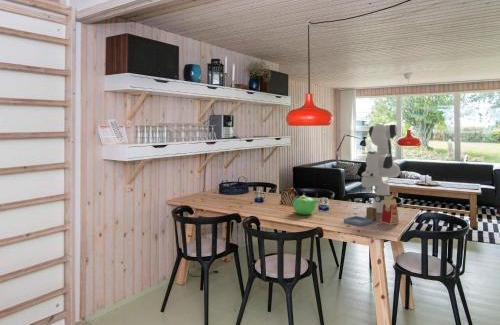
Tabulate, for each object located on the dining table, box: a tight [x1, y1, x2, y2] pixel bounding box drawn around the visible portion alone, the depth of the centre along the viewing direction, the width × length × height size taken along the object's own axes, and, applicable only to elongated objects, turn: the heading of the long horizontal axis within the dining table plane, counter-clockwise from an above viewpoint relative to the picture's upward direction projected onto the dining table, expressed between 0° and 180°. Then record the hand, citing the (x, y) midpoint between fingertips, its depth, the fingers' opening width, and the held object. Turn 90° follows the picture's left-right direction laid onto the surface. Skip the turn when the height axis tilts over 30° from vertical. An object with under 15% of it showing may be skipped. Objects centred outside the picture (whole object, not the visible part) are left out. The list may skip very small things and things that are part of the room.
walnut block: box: [365, 206, 377, 222], centre depth 264 cm, size 5×5×9 cm
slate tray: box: [343, 215, 373, 227], centre depth 258 cm, size 14×14×2 cm
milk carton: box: [381, 194, 400, 226], centre depth 256 cm, size 9×9×20 cm
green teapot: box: [292, 194, 320, 215], centre depth 283 cm, size 18×17×15 cm
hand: (371, 192), depth 262 cm, fingers open, 8 cm apart
